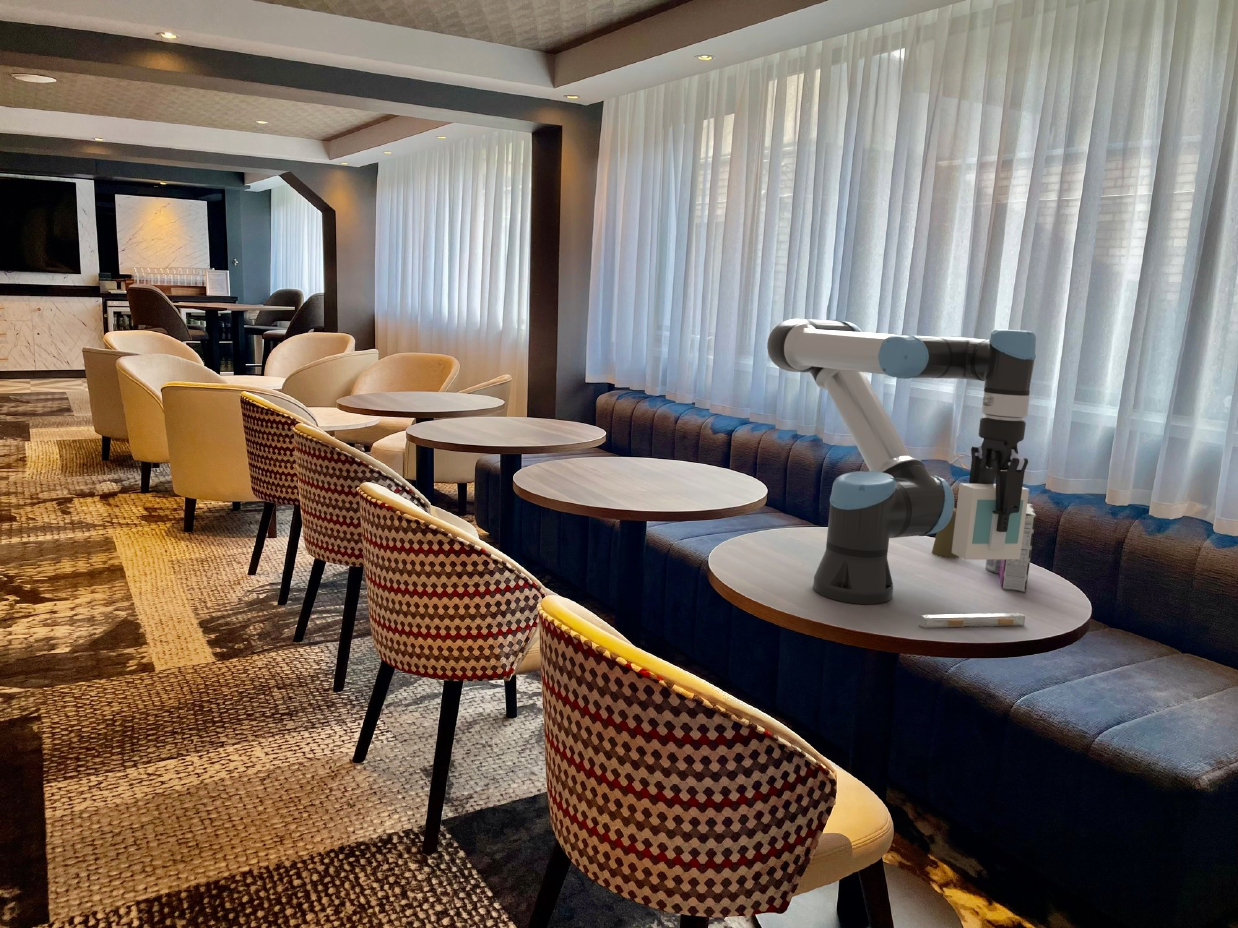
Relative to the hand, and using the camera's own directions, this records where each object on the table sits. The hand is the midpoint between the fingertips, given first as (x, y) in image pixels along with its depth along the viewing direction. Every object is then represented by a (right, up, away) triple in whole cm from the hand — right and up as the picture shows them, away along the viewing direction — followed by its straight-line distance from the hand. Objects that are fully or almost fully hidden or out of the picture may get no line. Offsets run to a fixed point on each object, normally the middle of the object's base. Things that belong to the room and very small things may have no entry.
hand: (987, 544), depth 164 cm
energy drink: (+16, -9, +34) cm, 39 cm away
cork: (+9, -7, +45) cm, 47 cm away
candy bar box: (+15, -11, +24) cm, 31 cm away
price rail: (-4, -14, -3) cm, 15 cm away
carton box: (0, -2, 0) cm, 2 cm away
